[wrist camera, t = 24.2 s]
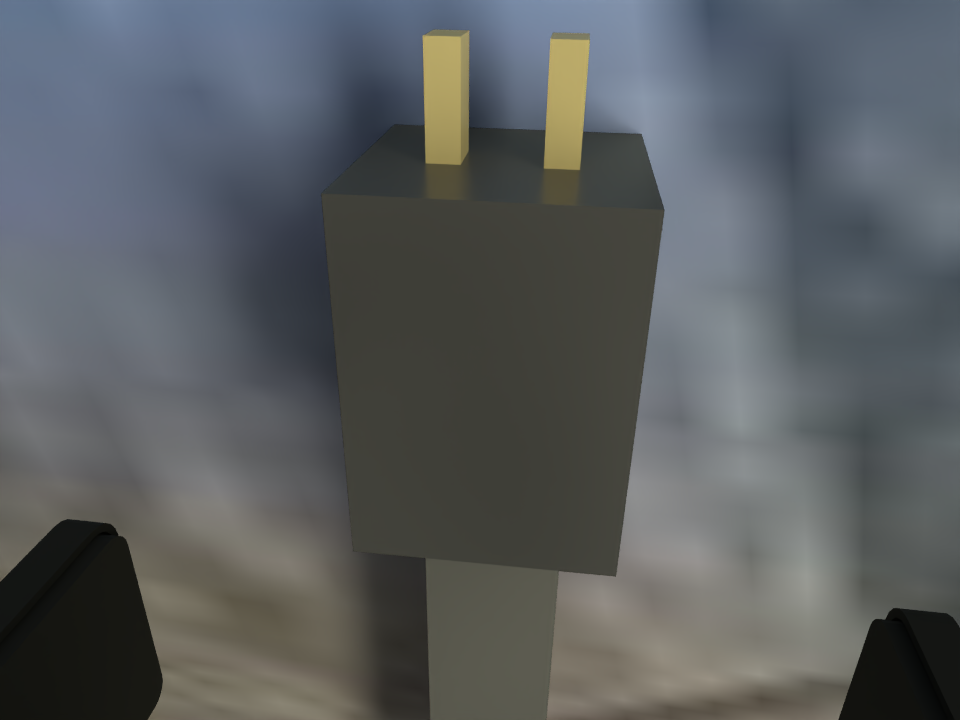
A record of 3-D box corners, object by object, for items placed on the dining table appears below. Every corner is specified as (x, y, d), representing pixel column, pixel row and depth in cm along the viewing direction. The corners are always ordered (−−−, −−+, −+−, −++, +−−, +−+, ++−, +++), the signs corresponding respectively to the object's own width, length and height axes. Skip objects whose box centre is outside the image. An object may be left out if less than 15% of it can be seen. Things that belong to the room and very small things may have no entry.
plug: (653, 24, 14) (683, 59, 10) (567, 798, 26) (563, 973, 21) (390, 17, 15) (308, 48, 10) (421, 780, 26) (388, 947, 22)
